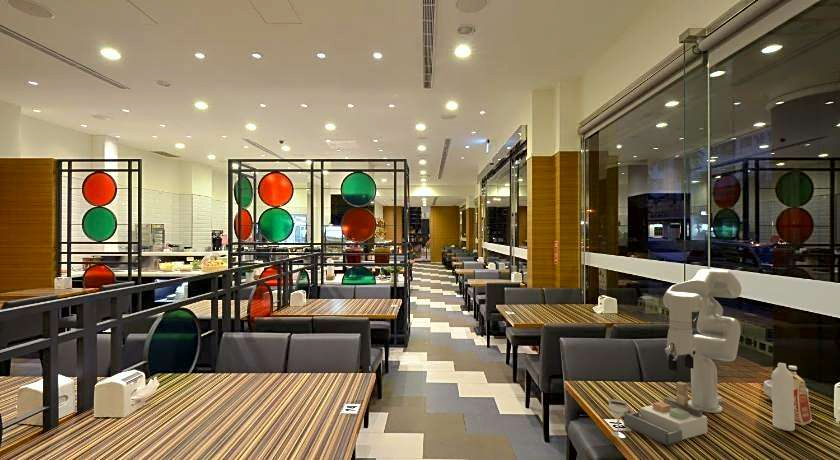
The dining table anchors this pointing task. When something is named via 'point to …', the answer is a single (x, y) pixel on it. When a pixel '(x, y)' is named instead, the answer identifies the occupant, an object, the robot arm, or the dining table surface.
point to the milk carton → (801, 401)
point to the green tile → (679, 413)
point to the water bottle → (783, 397)
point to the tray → (652, 430)
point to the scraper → (682, 400)
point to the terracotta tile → (661, 406)
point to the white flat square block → (675, 422)
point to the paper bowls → (769, 388)
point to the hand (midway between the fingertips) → (681, 368)
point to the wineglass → (618, 413)
